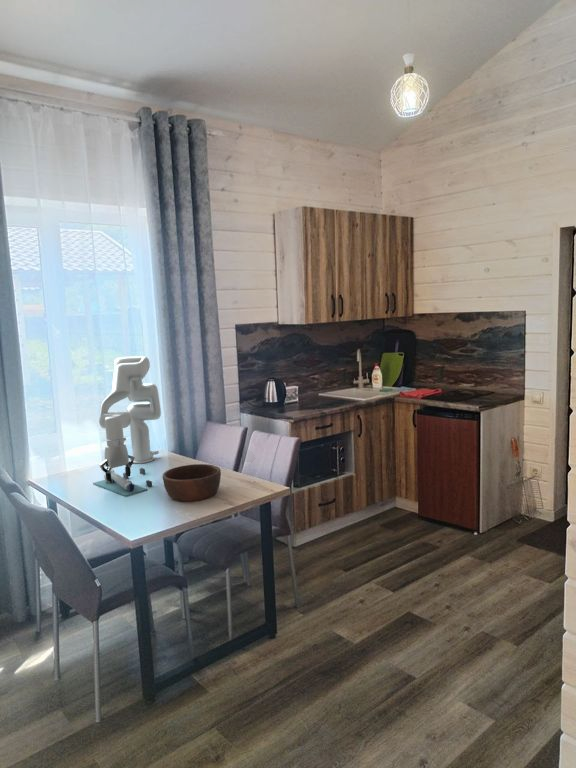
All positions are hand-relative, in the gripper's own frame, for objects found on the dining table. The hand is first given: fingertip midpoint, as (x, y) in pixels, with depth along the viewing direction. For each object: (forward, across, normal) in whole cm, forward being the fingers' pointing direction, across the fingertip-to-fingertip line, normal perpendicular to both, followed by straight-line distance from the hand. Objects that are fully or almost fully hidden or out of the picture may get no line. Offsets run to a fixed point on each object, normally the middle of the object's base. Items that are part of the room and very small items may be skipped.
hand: (118, 478), depth 270 cm
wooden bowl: (+4, -15, +37) cm, 40 cm away
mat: (+4, 0, 0) cm, 4 cm away
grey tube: (+4, 0, 0) cm, 4 cm away
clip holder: (+4, -14, 0) cm, 15 cm away
